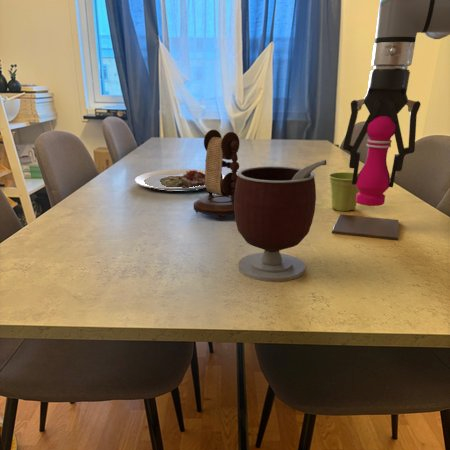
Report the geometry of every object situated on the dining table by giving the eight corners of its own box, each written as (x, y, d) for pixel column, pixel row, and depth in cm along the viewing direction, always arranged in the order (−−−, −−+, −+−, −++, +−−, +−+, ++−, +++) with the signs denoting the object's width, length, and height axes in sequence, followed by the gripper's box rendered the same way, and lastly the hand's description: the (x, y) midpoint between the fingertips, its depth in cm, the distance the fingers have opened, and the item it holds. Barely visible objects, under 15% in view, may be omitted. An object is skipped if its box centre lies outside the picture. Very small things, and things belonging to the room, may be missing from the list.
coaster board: (398, 222, 105) (398, 219, 104) (397, 240, 93) (397, 237, 93) (339, 216, 109) (339, 214, 109) (331, 233, 97) (331, 230, 97)
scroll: (182, 212, 113) (178, 130, 104) (225, 202, 121) (225, 126, 112) (218, 225, 103) (217, 136, 94) (262, 213, 111) (265, 131, 102)
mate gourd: (219, 271, 78) (217, 157, 69) (257, 249, 88) (260, 146, 79) (297, 292, 70) (307, 166, 61) (329, 265, 81) (342, 153, 71)
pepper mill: (358, 197, 103) (371, 105, 93) (389, 201, 99) (406, 106, 90) (349, 203, 97) (362, 106, 88) (382, 208, 94) (399, 108, 85)
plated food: (118, 190, 134) (116, 179, 133) (159, 172, 160) (158, 163, 158) (209, 197, 126) (208, 186, 125) (237, 177, 152) (237, 167, 150)
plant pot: (323, 211, 113) (326, 177, 109) (327, 202, 121) (330, 171, 117) (360, 214, 110) (365, 180, 106) (362, 205, 118) (366, 173, 114)
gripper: (336, 68, 86) (324, 184, 96) (447, 67, 80) (421, 192, 90) (341, 68, 92) (329, 178, 103) (444, 68, 86) (420, 184, 96)
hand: (372, 184), depth 96 cm, fingers closed on pepper mill, 7 cm apart
